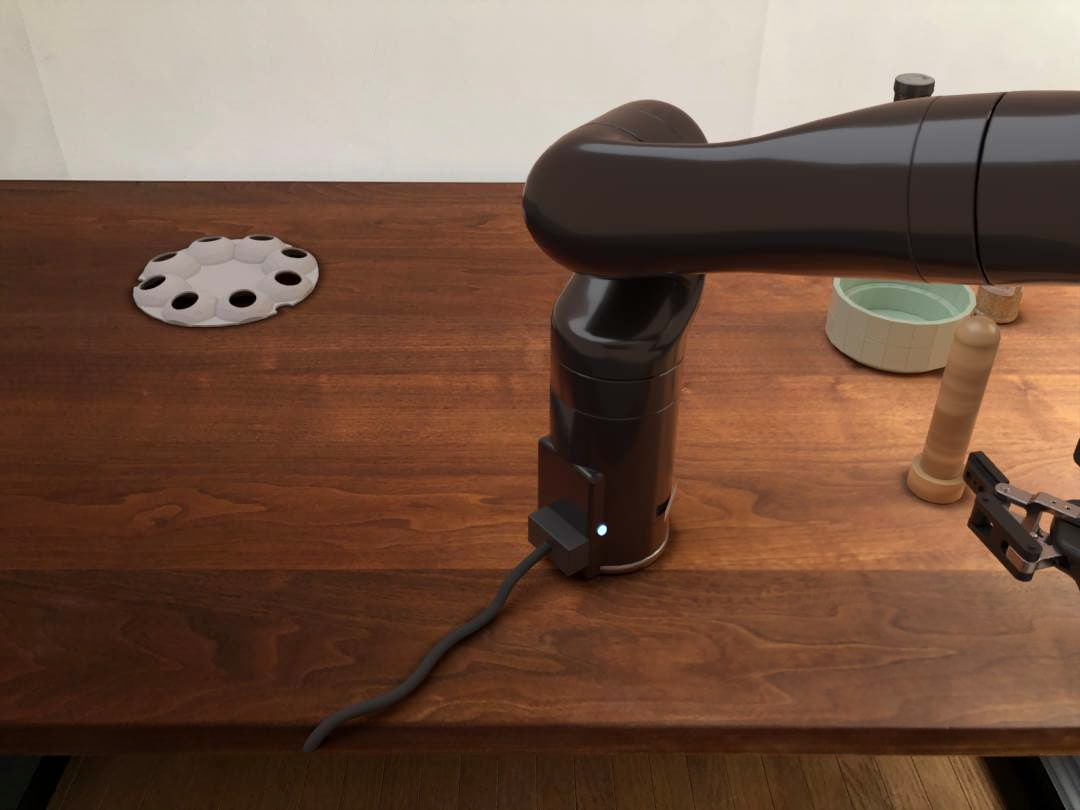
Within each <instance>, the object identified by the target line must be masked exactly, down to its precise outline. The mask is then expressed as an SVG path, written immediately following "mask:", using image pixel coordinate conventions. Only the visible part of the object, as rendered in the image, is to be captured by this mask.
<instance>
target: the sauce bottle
mask: <svg viewBox="0 0 1080 810" xmlns="http://www.w3.org/2000/svg"><path fill="white" fill-rule="evenodd" d="M935 85H936V79H935V78H934V77H932V76H930V75H927V74H925V73H921V72H920V73H918V72H908V73H902V74H900V73H899V74H898V75H896V77H895V78H894V82H893V86H892V88H893V93H894V94H893V101H892V102H896V101H901V100H908V99H915V98H922V97H931V96H933V94H934V92H935Z"/></svg>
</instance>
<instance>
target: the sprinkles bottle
mask: <svg viewBox="0 0 1080 810" xmlns="http://www.w3.org/2000/svg"><path fill="white" fill-rule="evenodd" d="M1025 289H1026V287H997V286H979V285H978V287H977V291H976V293H975V295H976V308H975V311H974V315H975V316H976V315H980V316H985V317H988V318H990V319H992V320H993V321H994V322H995V323H996V324H1007V323H1011V322H1013V321H1015V320H1016V319H1017V317H1018V315H1019V307H1020V304H1021V300H1022V298H1023V293H1024V291H1025Z"/></svg>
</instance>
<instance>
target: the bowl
mask: <svg viewBox="0 0 1080 810" xmlns="http://www.w3.org/2000/svg"><path fill="white" fill-rule="evenodd" d="M975 308H976V292H975V291H974V290H973V288H972V287H971V285H956V284H933V283H932V284H929V283H915V282H904V281H892V280H878V279H857V278H833V282H832V288H831V292H830V296H829V303H828V307H827V313H826V319H825V325H824V331H825V333H826V335H827V338H828V339H829V341H830V343H831V344H832V345H833V346H834V347H836V348H837V349H838V350H839V351H840V352H841V353H843V354H845V356H847V357H848V358H850V359H852V360H854V361H855V362H857V363H859V364H862V365H864V366H866V367H868V368H872V369H875V370H879V371H884V372H890V373H895V374H896V373H897V374H919V373H920V374H921V373H924V372H925V373H926V372H930V371H934V370H937V369H942V368H945V367H946V363H947V359H948V356H949V352H950V348H951V345H952V341H953V337H954V333H955V330H956V328H957V326H958V325H959V324H960V323H961V322H962V321H963V320H964V319H966V318H968V317H971V316H975V314H974V311H975Z"/></svg>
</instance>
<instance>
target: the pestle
mask: <svg viewBox="0 0 1080 810" xmlns="http://www.w3.org/2000/svg"><path fill="white" fill-rule="evenodd" d="M1001 337H1002V335H1001V330H1000V327H999V325H998V323H995V322H994V321H993V320H992V319H990V318H988V317H985V316H980V315H976V314H975V315H973V316H971V317H968V318H966V319H964V320H963V321H962V322H961V323H960V324H959V325H958V326H957V328H956V330H955V333H954V337H953V341H952V345H951V348H950V352H949V356H948V359H947V363H946V366H945V367H944V370H943V375H942V377H941V382H940V386H939V388H938V392H937V397H936V400H935V404H934V408H933V413H932V415H931V418H930V422H929V426H928V430H927V434H926V437H925V441H924V444H923V448H922V452H919V453H917V454H915V456H914V457H913V458H912V460H911V463H910V467H909V470H908V474H907V477H906V478H907V479H906V484H907V487H908V489H909V491H910V492H911V493H913V494H914V495H915V496H916V497H918V498H920V499H921V500H924V501H926V502H929V503H934V504H938V505H939V504H942V505H947V504H952V503H955V502H957V501H959V500H960V499H961V498H962V496H963V493H964V491H965V488H966V485H967V484H966V483H965V482H964V480H963V473H964V469H965V466H966V463H965V459H966V456H967V453H968V449H969V447H970V443H971V439H972V436H973V433H974V430H975V427H976V423H977V421H978V416H979V414H980V409H981V406H982V404H983V399H984V396H985V393H986V391H987V386H988V383H989V379H990V377H991V373H992V370H993V367H994V363H995V359H996V356H997V354H998V350H999V346H1000V342H1001V339H1002V338H1001Z"/></svg>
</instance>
